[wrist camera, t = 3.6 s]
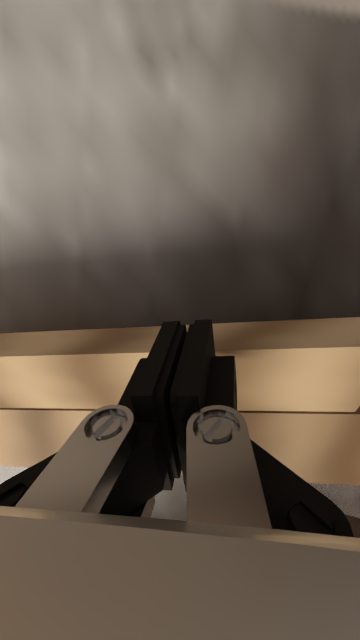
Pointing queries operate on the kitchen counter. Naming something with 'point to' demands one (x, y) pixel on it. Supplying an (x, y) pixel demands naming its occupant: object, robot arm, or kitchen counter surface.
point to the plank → (229, 339)
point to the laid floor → (263, 426)
